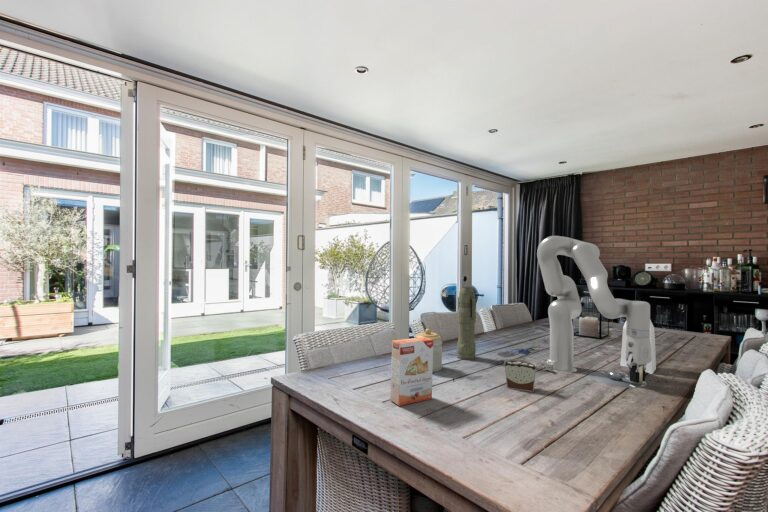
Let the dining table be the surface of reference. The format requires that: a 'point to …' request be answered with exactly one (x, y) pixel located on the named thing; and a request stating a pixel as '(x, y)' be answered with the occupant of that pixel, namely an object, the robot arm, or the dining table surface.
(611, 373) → the lever
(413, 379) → the cracker box
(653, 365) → the milk
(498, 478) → the dining table surface
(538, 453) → the dining table surface
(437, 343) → the jar
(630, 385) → the dial board
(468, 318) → the thermos
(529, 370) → the food container
